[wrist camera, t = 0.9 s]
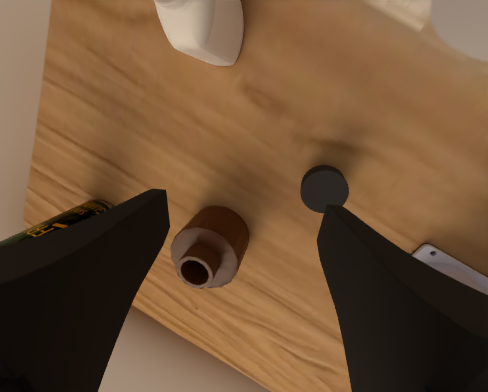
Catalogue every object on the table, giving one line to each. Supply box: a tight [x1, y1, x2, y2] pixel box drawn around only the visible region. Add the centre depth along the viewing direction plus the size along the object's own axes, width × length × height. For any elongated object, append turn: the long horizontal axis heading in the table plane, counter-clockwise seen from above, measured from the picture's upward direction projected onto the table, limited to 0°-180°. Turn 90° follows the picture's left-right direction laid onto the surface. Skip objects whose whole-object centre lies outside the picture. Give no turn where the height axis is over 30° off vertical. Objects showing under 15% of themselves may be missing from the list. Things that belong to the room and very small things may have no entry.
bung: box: [301, 165, 349, 213], centre depth 21 cm, size 4×4×3 cm
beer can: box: [0, 200, 113, 246], centre depth 25 cm, size 5×5×12 cm
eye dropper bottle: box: [153, 0, 244, 66], centre depth 14 cm, size 4×6×12 cm
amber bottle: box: [171, 206, 249, 289], centre depth 24 cm, size 7×7×7 cm
